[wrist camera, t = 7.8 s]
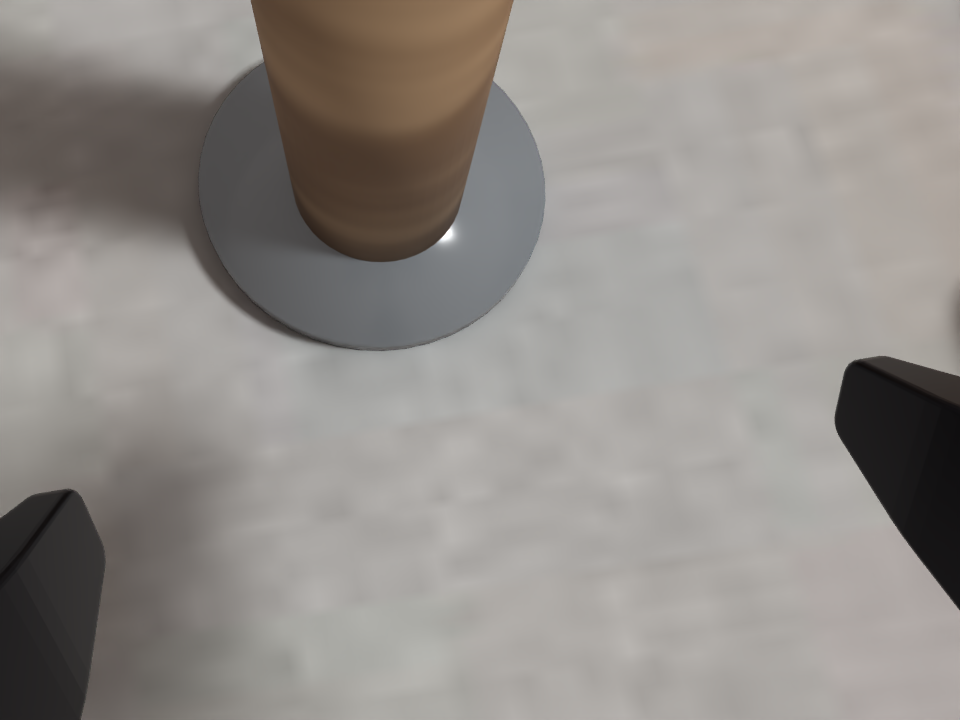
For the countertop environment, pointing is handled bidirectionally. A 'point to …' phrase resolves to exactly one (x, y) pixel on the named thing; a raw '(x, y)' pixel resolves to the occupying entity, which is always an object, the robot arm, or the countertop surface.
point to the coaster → (357, 283)
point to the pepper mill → (380, 112)
